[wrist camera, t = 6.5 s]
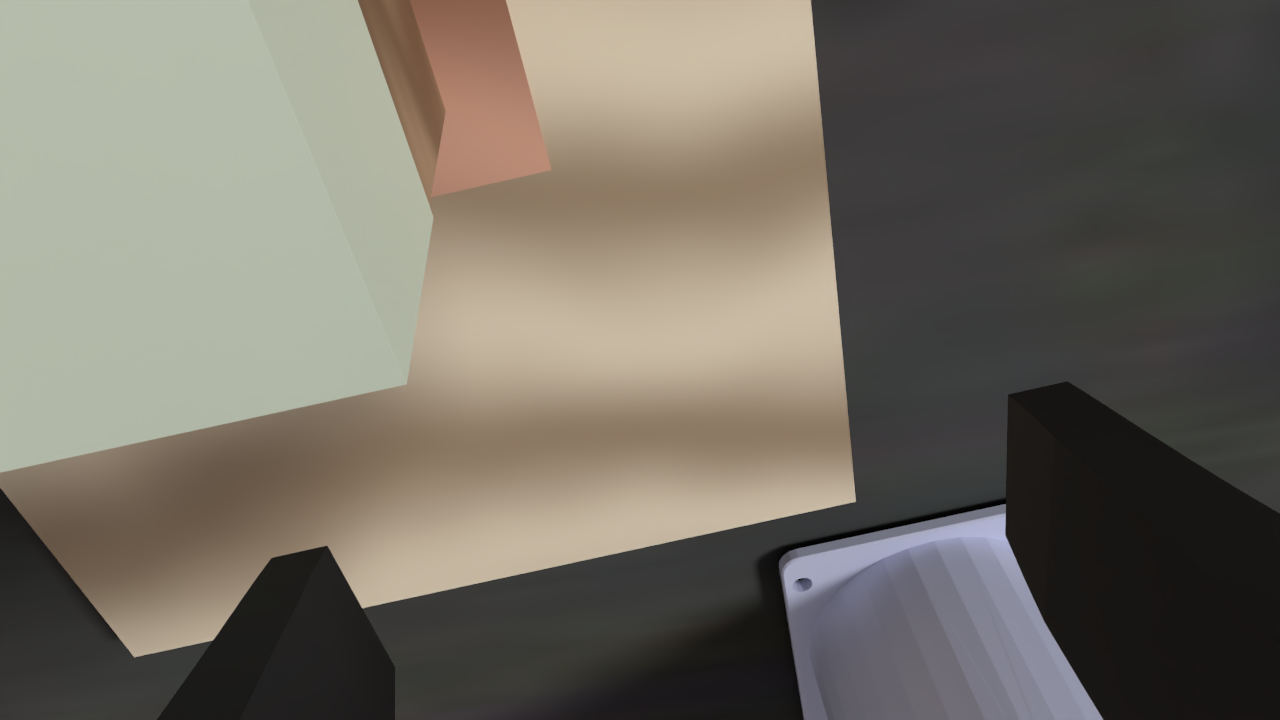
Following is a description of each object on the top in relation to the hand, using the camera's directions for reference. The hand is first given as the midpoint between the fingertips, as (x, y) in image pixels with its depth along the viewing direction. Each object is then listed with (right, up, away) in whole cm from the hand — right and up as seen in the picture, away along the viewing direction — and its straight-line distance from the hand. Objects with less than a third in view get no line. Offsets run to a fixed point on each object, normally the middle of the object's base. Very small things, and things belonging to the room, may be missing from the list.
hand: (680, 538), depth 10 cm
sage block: (-6, +5, +2) cm, 8 cm away
